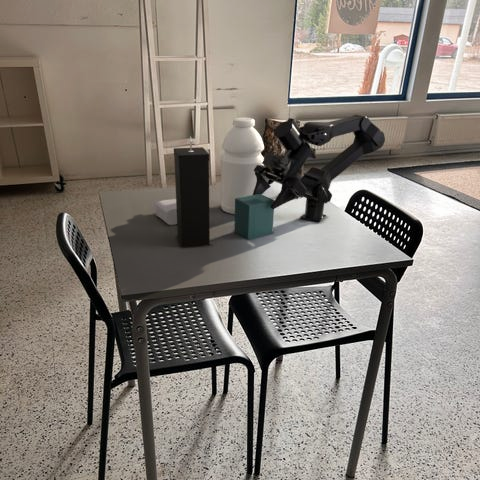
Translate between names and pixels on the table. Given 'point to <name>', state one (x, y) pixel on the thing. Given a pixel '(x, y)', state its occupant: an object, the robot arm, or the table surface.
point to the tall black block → (192, 195)
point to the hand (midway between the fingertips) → (262, 203)
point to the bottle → (240, 162)
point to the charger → (167, 211)
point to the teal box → (253, 216)
